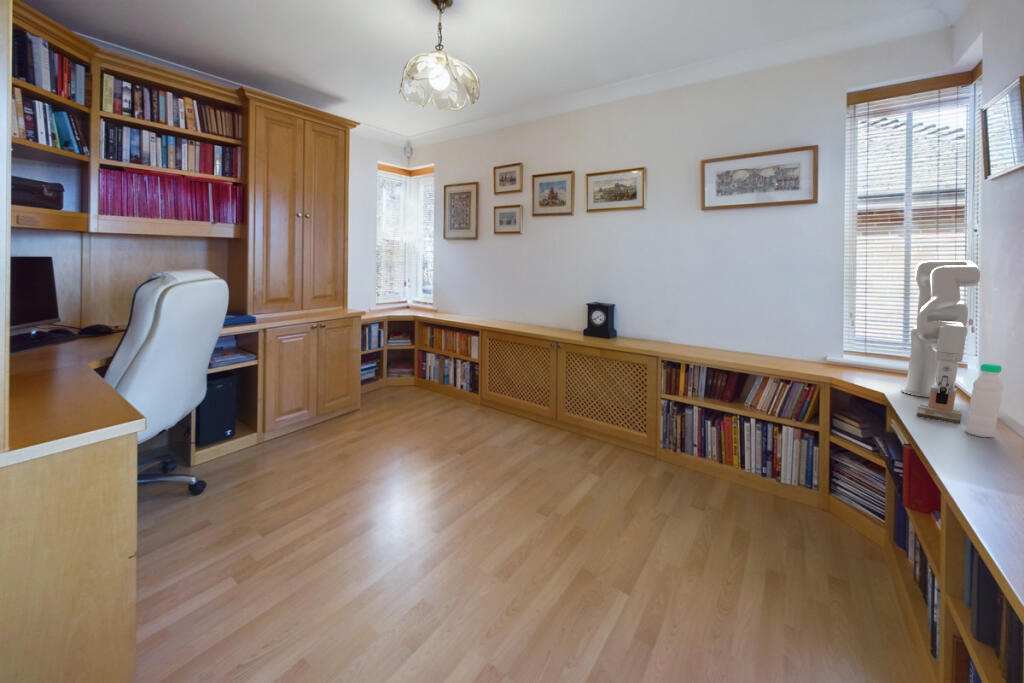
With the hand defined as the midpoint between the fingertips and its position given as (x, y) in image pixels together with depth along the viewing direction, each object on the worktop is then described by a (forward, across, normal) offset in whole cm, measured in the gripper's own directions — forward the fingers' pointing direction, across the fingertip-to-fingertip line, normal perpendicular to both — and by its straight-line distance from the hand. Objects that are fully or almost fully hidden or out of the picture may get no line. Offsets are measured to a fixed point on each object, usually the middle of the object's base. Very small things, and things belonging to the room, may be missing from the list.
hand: (941, 400), depth 170 cm
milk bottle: (+6, -16, -11) cm, 20 cm away
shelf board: (+6, 0, 0) cm, 6 cm away
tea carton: (+5, 0, 0) cm, 5 cm away
